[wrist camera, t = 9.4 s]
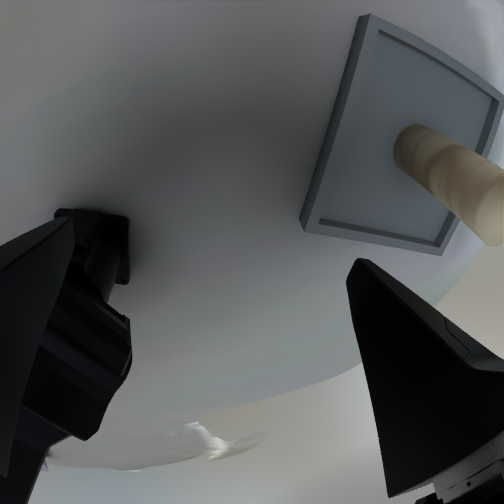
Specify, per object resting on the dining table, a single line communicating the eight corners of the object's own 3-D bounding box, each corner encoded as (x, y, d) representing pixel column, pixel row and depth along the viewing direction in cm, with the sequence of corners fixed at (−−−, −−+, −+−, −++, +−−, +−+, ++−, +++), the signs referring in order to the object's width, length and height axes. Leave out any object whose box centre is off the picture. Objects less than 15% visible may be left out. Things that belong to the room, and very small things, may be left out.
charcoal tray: (431, 245, 26) (441, 256, 25) (299, 219, 24) (304, 231, 22) (493, 93, 18) (506, 97, 16) (359, 16, 15) (370, 13, 14)
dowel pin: (425, 179, 22) (506, 251, 13) (386, 166, 21) (469, 240, 13) (442, 134, 19) (535, 191, 11) (403, 116, 19) (502, 168, 10)
